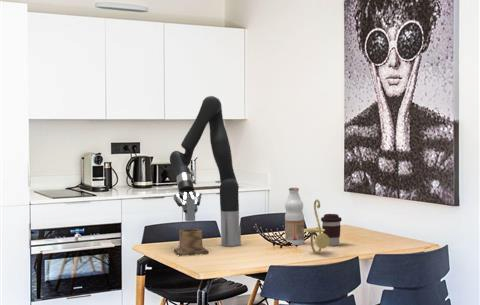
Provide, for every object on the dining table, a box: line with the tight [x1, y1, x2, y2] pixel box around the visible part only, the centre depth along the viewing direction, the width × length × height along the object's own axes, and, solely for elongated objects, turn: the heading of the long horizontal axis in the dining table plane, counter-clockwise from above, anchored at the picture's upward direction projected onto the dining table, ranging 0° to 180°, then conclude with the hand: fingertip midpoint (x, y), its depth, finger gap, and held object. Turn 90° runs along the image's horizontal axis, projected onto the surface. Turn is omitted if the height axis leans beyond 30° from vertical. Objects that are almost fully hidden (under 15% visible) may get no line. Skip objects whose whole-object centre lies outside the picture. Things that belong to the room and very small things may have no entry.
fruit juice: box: [284, 187, 305, 246], centre depth 303 cm, size 9×9×28 cm
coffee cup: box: [320, 213, 342, 247], centre depth 297 cm, size 10×10×15 cm
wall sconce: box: [304, 198, 329, 255], centre depth 275 cm, size 14×10×25 cm
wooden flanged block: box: [173, 228, 210, 257], centre depth 284 cm, size 14×12×10 cm
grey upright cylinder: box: [184, 198, 196, 222], centre depth 284 cm, size 4×4×10 cm
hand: (190, 211), depth 282 cm, fingers closed on grey upright cylinder, 4 cm apart
